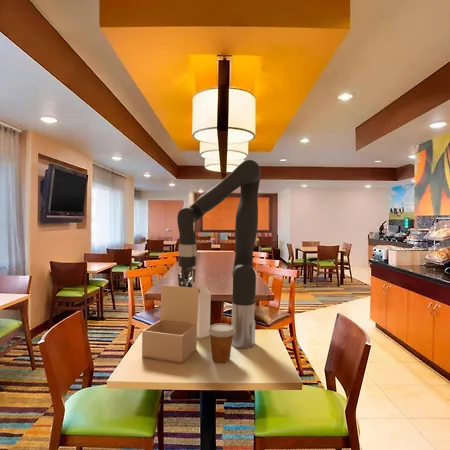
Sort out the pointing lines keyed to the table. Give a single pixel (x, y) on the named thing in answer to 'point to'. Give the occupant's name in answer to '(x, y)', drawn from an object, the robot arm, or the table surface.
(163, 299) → the carton flap
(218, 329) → the disposable coffee cup
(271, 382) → the table surface
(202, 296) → the milk
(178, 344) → the carton
